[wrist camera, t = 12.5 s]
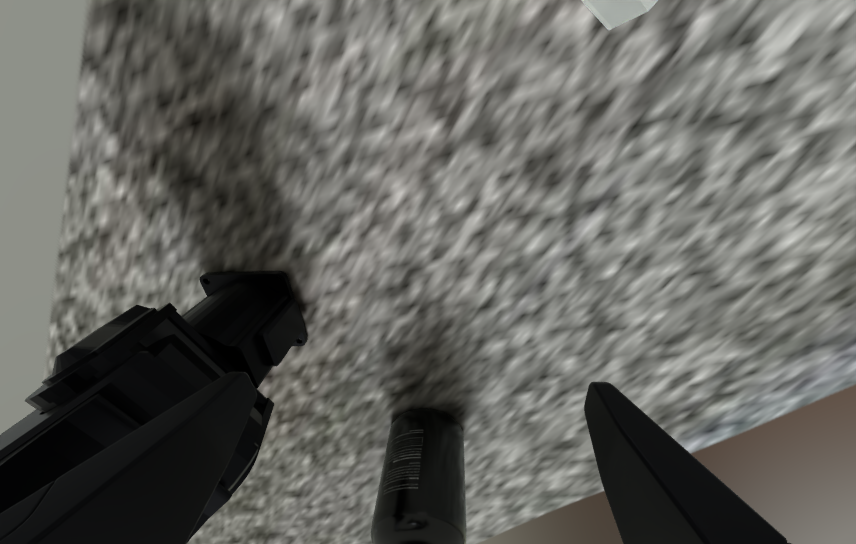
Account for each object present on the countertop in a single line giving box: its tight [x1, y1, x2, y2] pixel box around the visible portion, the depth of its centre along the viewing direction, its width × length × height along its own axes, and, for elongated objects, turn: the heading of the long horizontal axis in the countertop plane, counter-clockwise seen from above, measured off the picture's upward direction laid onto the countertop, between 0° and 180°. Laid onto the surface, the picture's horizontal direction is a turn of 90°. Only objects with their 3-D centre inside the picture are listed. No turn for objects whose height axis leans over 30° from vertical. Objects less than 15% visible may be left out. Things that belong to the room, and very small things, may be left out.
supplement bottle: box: [371, 409, 466, 544], centre depth 24 cm, size 7×7×12 cm
